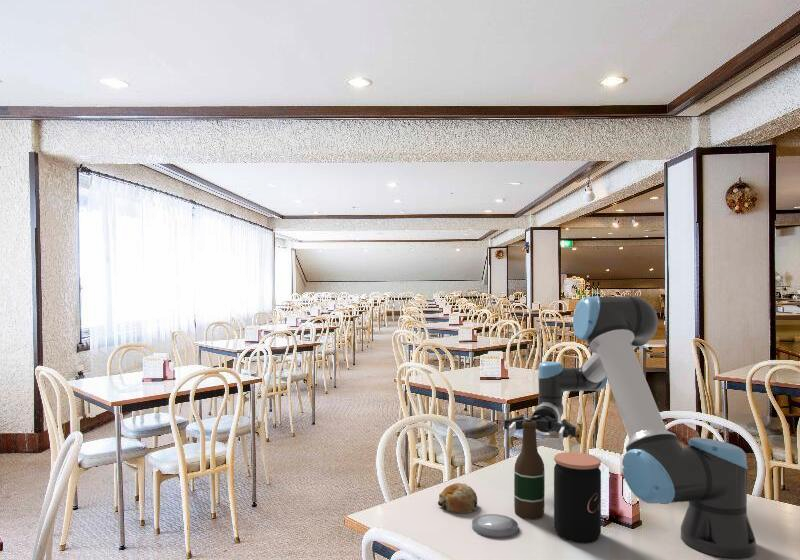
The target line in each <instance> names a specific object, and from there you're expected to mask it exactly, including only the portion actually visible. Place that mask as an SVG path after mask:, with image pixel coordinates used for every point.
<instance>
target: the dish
mask: <svg viewBox="0 0 800 560" xmlns="http://www.w3.org/2000/svg"><path fill="white" fill-rule="evenodd" d="M471 528H472V530H473V532H475V533H476V534H478V535H480V536H483V537H487V538H493V539H505V538H509V537H510V538H511V537H513V536H515V535H516V534H517V533H518V532H519V524H518V522H517V521H516V519H514V518H512V517H510V516H507V515H503V514H496V513H486V514H481V515H477V516H475V517H473V519H472V520H471Z"/></svg>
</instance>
